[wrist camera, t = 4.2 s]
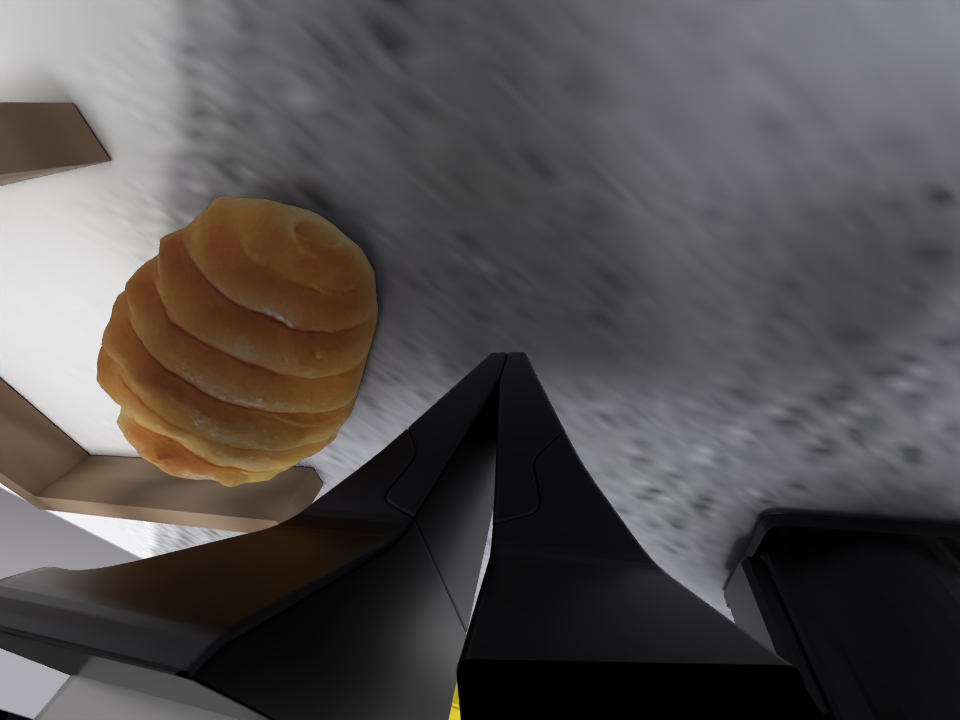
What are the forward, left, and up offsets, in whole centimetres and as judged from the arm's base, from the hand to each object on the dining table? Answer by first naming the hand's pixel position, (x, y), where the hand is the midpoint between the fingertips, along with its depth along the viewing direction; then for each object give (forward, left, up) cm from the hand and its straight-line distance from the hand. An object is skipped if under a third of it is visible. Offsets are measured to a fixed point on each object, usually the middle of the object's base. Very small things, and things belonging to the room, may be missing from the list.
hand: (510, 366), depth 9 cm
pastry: (+8, 0, -2) cm, 8 cm away
